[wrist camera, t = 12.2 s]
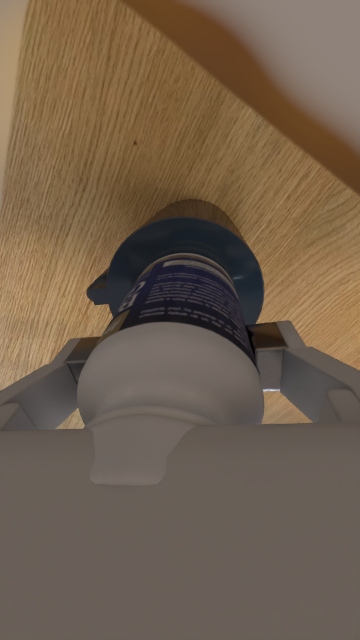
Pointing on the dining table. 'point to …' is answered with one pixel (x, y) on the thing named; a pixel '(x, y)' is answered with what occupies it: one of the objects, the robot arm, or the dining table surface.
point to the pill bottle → (167, 369)
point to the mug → (184, 237)
